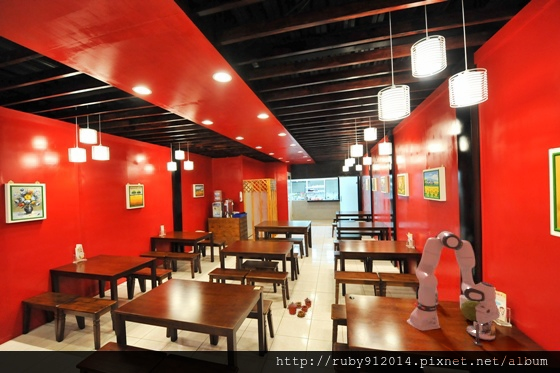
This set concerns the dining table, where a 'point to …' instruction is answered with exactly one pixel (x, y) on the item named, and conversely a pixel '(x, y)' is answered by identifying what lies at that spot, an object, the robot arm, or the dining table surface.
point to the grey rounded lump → (485, 328)
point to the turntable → (482, 333)
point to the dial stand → (477, 333)
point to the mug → (462, 299)
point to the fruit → (469, 309)
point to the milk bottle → (436, 297)
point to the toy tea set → (297, 305)
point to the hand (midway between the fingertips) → (488, 326)
